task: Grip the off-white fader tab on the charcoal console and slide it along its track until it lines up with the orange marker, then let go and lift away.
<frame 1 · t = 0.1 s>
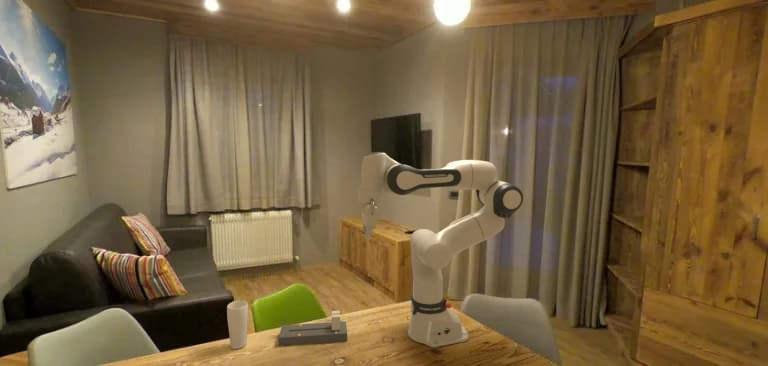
hand: (366, 235, 129), 39 cm above the table, tool pointing down, fingers open, 8 cm apart
drinking glass: (238, 346, 127), on the table
console: (313, 336, 134), on the table
fader tab: (335, 320, 134), point 6 cm above the table, slide at 0.0 cm
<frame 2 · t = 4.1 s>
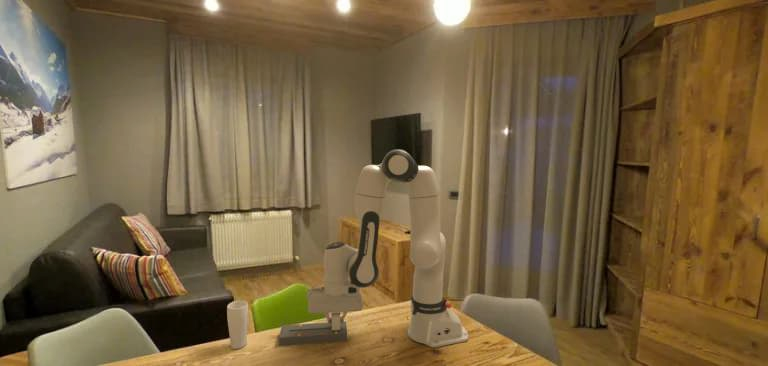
hand: (335, 322, 134), 5 cm above the table, tool pointing down, fingers closed on fader tab, 3 cm apart
fader tab: (335, 320, 134), point 6 cm above the table, slide at 0.0 cm, touching gripper
everything else where it was.
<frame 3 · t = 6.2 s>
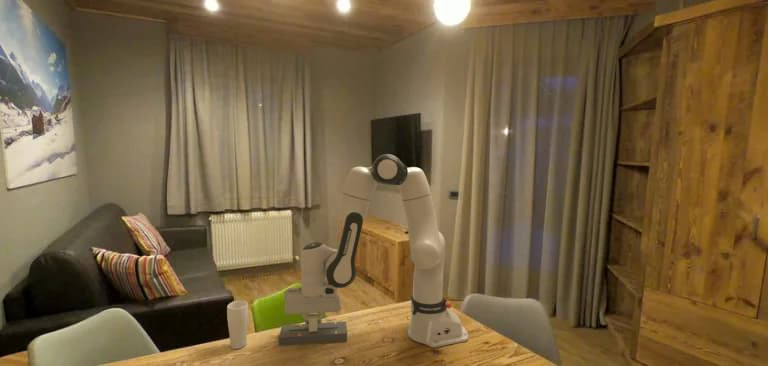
hand: (313, 323, 133), 5 cm above the table, tool pointing down, fingers closed on fader tab, 3 cm apart
fader tab: (313, 321, 133), point 6 cm above the table, slide at 8.2 cm, touching gripper
everything else where it was.
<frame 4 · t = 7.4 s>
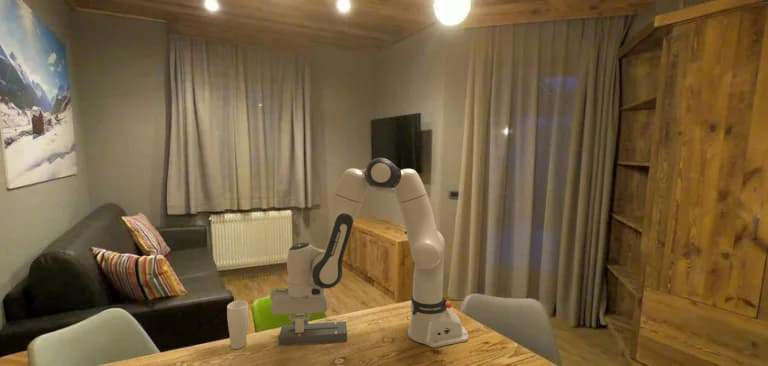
hand: (300, 324, 132), 5 cm above the table, tool pointing down, fingers closed on fader tab, 3 cm apart
fader tab: (300, 322, 132), point 6 cm above the table, slide at 13.0 cm, touching gripper
everything else where it was.
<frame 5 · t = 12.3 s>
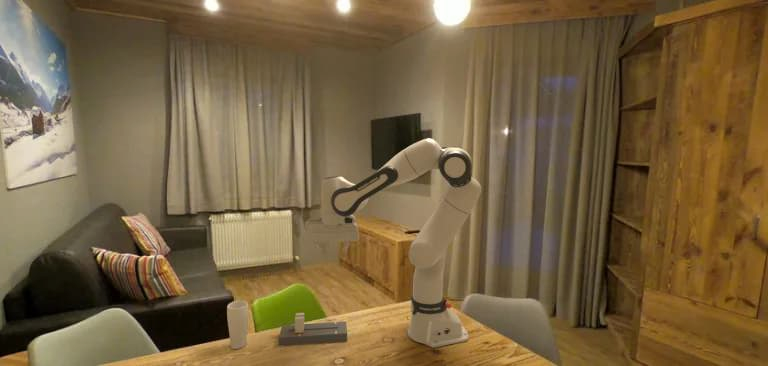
hand: (332, 253, 140), 29 cm above the table, tool pointing down, fingers open, 8 cm apart
fader tab: (299, 322, 132), point 6 cm above the table, slide at 13.1 cm
everything else where it was.
at the end: fader tab slide at 13.1 cm; the gripper is holding nothing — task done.
